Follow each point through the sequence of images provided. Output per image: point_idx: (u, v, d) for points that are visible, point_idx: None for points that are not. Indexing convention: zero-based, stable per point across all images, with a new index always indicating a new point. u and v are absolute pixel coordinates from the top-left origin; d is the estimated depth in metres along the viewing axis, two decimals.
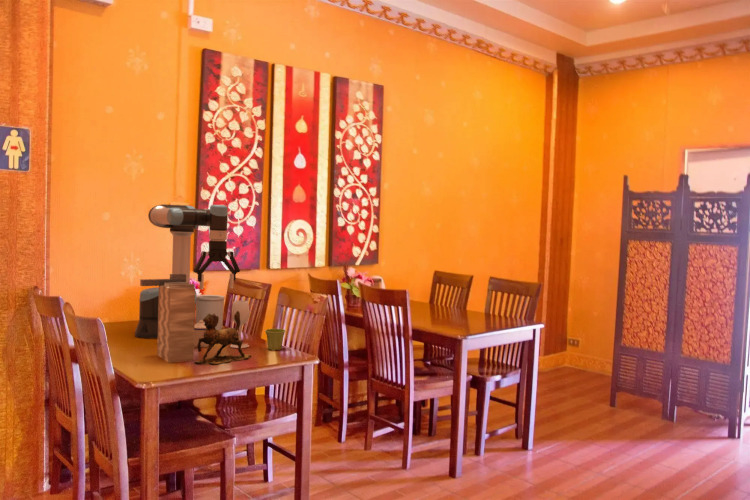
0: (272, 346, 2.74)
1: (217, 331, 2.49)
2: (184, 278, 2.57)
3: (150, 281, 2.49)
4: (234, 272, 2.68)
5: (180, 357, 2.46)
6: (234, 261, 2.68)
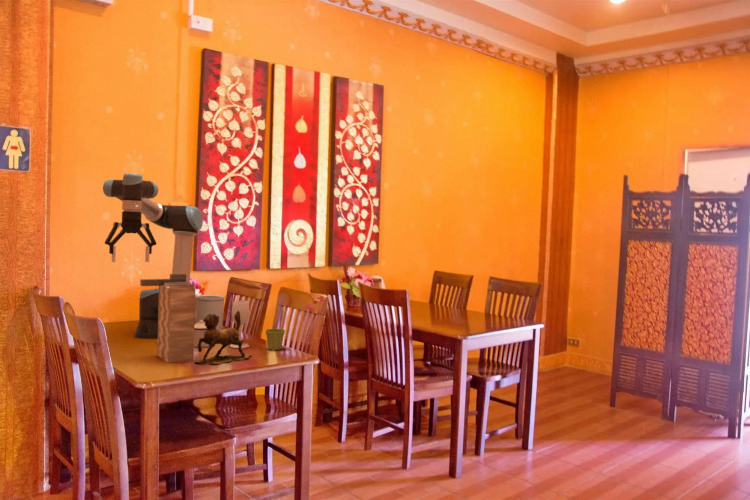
0: (272, 346, 2.74)
1: (217, 331, 2.49)
2: (184, 278, 2.57)
3: (150, 281, 2.49)
4: (150, 245, 2.56)
5: (180, 357, 2.46)
6: (150, 233, 2.56)
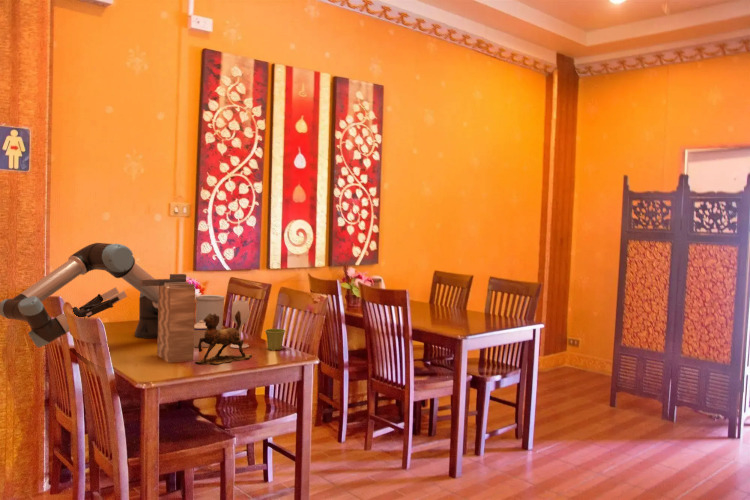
0: (272, 346, 2.74)
1: (218, 331, 2.49)
2: (184, 278, 2.57)
3: (150, 281, 2.49)
4: None
5: (180, 357, 2.46)
6: None
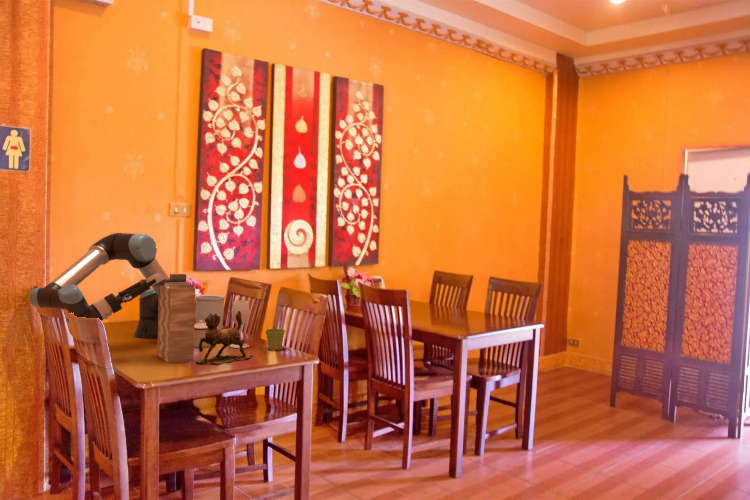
0: (272, 346, 2.74)
1: (219, 331, 2.50)
2: (184, 278, 2.57)
3: None
4: None
5: (180, 357, 2.46)
6: None
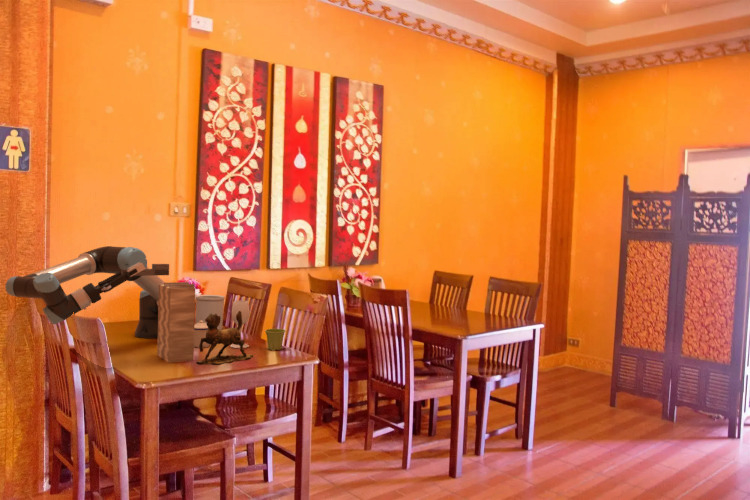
0: (272, 346, 2.74)
1: (219, 331, 2.50)
2: (167, 268, 2.48)
3: None
4: None
5: (180, 357, 2.46)
6: None
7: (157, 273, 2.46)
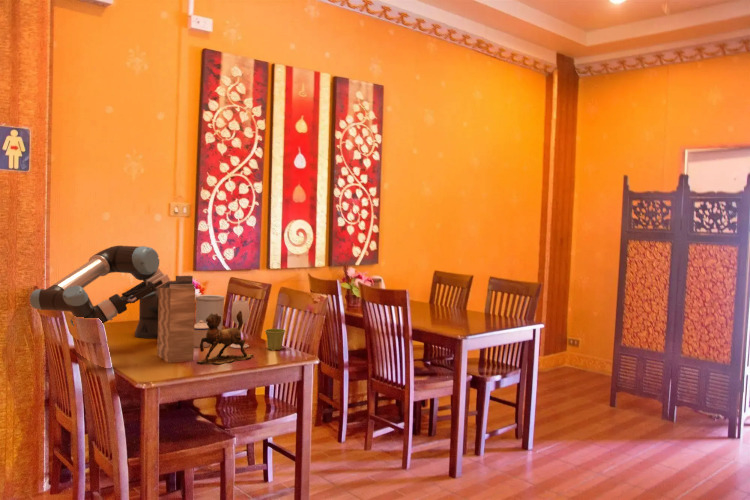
0: (272, 346, 2.74)
1: (219, 331, 2.50)
2: (190, 280, 2.50)
3: None
4: None
5: (180, 357, 2.46)
6: None
7: None
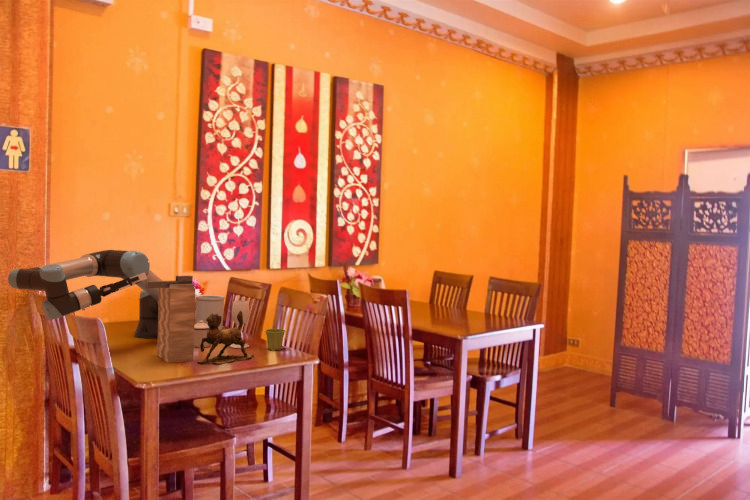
0: (272, 346, 2.74)
1: (220, 331, 2.50)
2: (190, 280, 2.50)
3: (156, 283, 2.42)
4: (130, 284, 2.34)
5: (180, 357, 2.46)
6: (117, 288, 2.31)
7: None
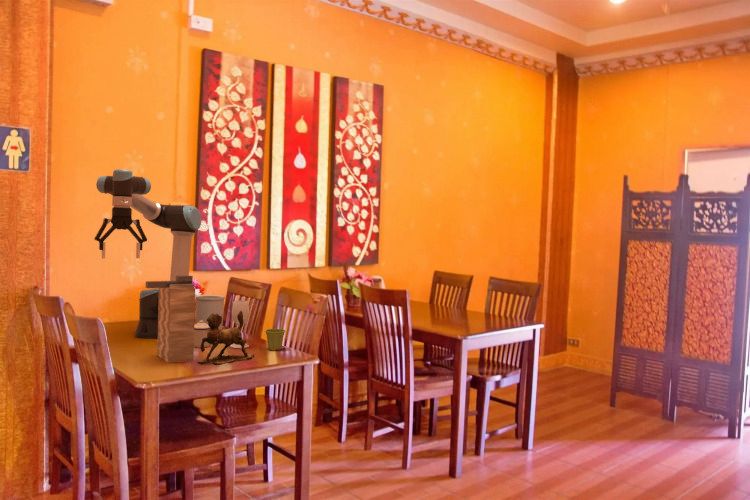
0: (272, 346, 2.74)
1: (220, 331, 2.50)
2: (190, 280, 2.50)
3: (156, 283, 2.42)
4: (140, 241, 2.54)
5: (180, 357, 2.46)
6: (140, 229, 2.54)
7: None
